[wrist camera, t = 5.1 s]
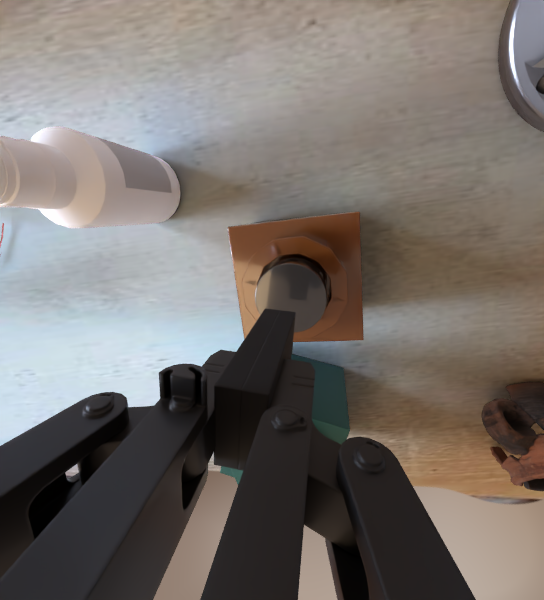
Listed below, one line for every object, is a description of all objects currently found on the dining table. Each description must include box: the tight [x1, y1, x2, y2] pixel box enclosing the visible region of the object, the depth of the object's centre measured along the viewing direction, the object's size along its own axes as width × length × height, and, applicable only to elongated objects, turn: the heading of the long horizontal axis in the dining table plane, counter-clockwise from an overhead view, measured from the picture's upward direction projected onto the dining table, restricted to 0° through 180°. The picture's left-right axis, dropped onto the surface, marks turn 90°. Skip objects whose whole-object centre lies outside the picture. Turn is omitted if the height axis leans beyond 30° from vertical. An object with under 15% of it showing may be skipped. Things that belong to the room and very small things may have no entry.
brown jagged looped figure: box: [482, 382, 544, 491], centre depth 29 cm, size 12×10×8 cm
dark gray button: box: [255, 258, 327, 333], centre depth 20 cm, size 5×5×3 cm
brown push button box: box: [228, 212, 363, 342], centre depth 26 cm, size 10×10×10 cm
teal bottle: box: [220, 354, 350, 485], centre depth 29 cm, size 10×9×12 cm
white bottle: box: [0, 126, 181, 228], centre depth 22 cm, size 7×7×18 cm
